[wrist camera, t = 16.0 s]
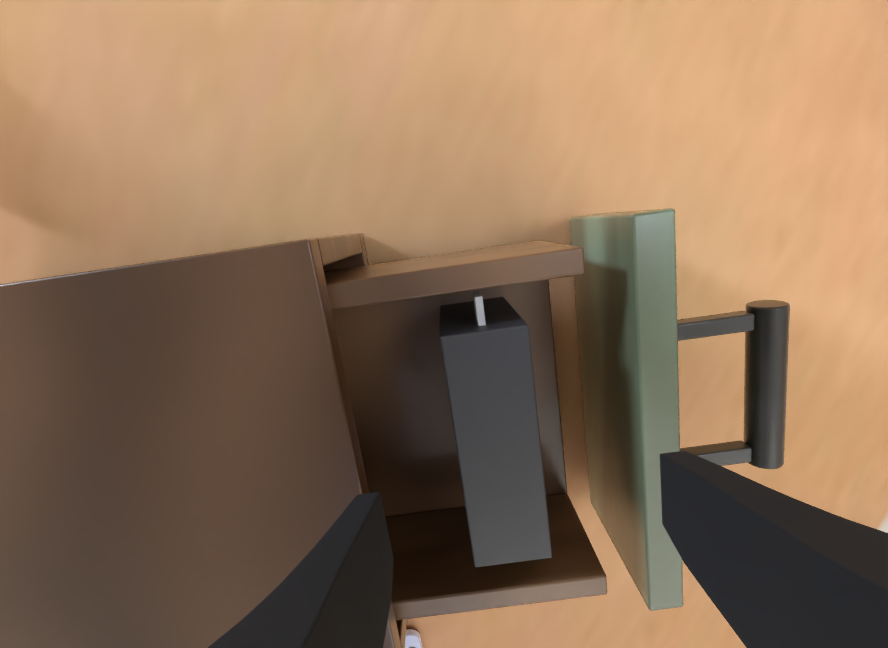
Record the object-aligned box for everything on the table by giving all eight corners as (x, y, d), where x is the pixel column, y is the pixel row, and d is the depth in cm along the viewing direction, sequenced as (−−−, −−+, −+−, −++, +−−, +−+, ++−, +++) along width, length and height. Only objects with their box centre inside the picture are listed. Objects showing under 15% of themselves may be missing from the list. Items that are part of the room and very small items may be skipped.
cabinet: (362, 233, 19) (309, 238, 11) (415, 523, 22) (402, 682, 14) (36, 281, 19) (-235, 319, 11) (136, 559, 22) (-22, 734, 15)
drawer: (715, 196, 17) (854, 181, 12) (715, 486, 20) (825, 590, 15) (275, 260, 18) (194, 278, 12) (338, 535, 21) (298, 655, 15)
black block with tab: (525, 473, 19) (554, 558, 14) (464, 480, 19) (473, 568, 14) (503, 274, 17) (527, 293, 12) (435, 283, 17) (433, 306, 12)
